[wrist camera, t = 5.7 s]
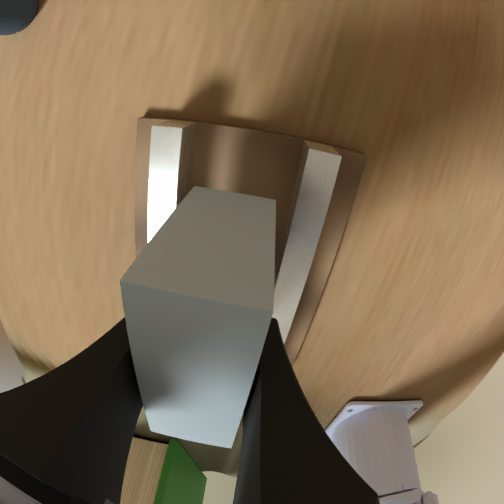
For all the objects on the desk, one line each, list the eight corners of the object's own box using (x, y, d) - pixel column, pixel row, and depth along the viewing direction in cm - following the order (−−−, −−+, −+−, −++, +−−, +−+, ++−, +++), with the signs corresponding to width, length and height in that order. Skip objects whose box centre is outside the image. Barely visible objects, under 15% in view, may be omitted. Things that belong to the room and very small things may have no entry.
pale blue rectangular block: (247, 336, 14) (232, 448, 9) (185, 324, 14) (149, 430, 9) (277, 199, 11) (275, 311, 5) (193, 185, 11) (117, 279, 5)
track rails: (268, 365, 19) (266, 390, 17) (165, 346, 18) (157, 368, 17) (332, 146, 11) (341, 156, 10) (169, 120, 11) (151, 125, 10)
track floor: (290, 363, 19) (291, 368, 19) (146, 335, 19) (144, 340, 18) (363, 153, 12) (366, 155, 11) (142, 116, 12) (137, 118, 11)
